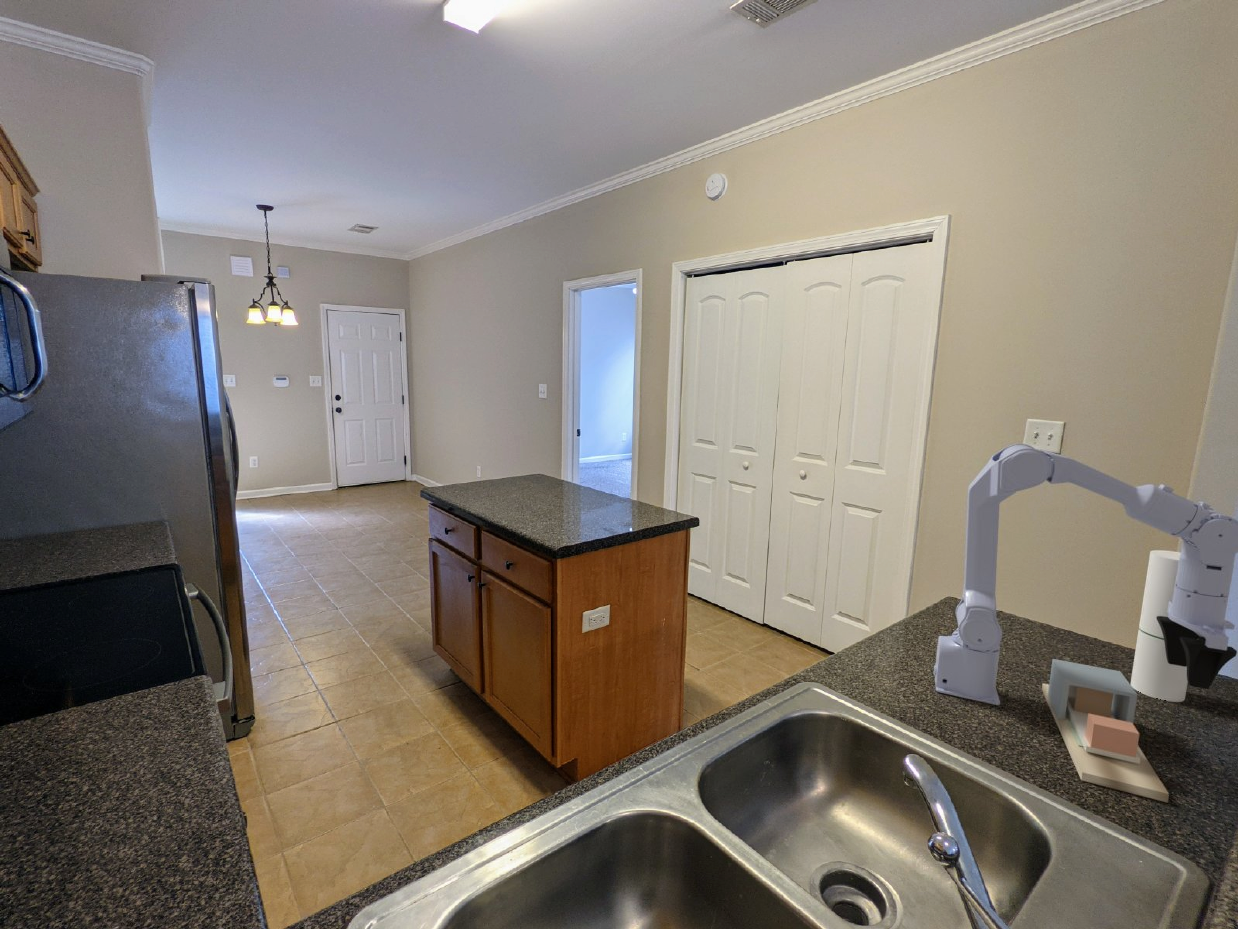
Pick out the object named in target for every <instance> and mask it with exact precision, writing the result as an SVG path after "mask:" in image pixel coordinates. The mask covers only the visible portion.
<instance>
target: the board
mask: <svg viewBox="0 0 1238 929" xmlns="http://www.w3.org/2000/svg"><path fill="white" fill-rule="evenodd" d="M1048 690H1049V684H1048V683H1042V685H1041V691H1042V693H1043V696H1044V698H1045V700H1046V703H1047V705H1048V707H1049V709H1050V712H1051V714H1052V716H1053V719H1054V721H1055V723H1056V726H1057V728H1058V729H1059V733H1060V735H1061V736H1062V739H1063V741H1064V744H1065V746H1066V749H1067V751H1068V752H1069V755H1070V758H1071V760H1072V762H1073V764H1074V766H1075V769H1076V772H1077V773H1078V775H1079V778H1080V780H1081V781H1083V782H1087V783H1091V784H1094V785H1099V786H1102V787H1106V788H1110V789H1114V790H1119V791H1122V792H1126V793H1130V794H1134V795H1137V796H1141V797H1144V798H1149V799H1152V800H1156V801H1161V802H1165V803H1169V798H1170V793H1169V792H1168V790H1167V788H1166V787H1165V786H1164V784H1163V782H1162V781H1161V780H1160V778H1159V776H1158V775H1157V772H1155V770H1154V768H1153V766H1152V765H1151V764H1150V762H1149V760H1148V758H1147V757H1146V756H1145V754H1144V752H1143V751H1142V749H1141V748H1140V746H1139V745H1138V747H1137V754H1138V756H1139V757H1140V764H1137V763H1133V762H1129V761H1125V760H1120V759H1116V758H1112V757H1108V756H1104V755H1100V754H1095V753H1091V752H1087V751H1085V749H1084V747H1083V745H1082V742H1081V740H1080V738H1079V736H1078V734H1077V732H1076V730H1075V728H1074V726H1073V724H1072V722H1071V720H1070V718H1069V716H1068V714H1067V711H1066V714H1065V720H1062V719H1058V717H1057V714H1056V712H1055V710H1054V708H1053V705H1052V703H1051V701H1050V699H1049V696H1048Z"/></svg>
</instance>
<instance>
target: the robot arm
mask: <svg viewBox="0 0 1238 929" xmlns="http://www.w3.org/2000/svg"><path fill="white" fill-rule="evenodd" d="M1044 482H1047V483H1049V484H1050V485H1051V484H1052V485H1056V484H1065V483H1068V484H1069V483H1070V484H1073V485H1076V486H1077V487H1081V488H1082V489H1085V490H1087V491H1090V492H1093V493H1095V494H1098V495H1100V496H1103V497H1105V498H1107V499H1110V500H1113V501H1114V502H1117V503H1120V504H1122V506H1123V508H1124V510H1125V511H1124V512H1125V513H1126V515H1127V517H1128V518H1131V519H1133V520H1136V521H1138V522H1140V523H1143V524H1145V525H1147V526H1150V527H1152V528H1154V529H1156V530H1158V531H1161V532H1163V533H1165V534H1168V535H1170V536H1172V537H1174V538H1180V539H1181V540H1182V543H1181V550H1180V552H1181V555H1180V557H1179V563H1178V570H1177V576H1176V582H1175V588H1174V594H1173V600H1172V602H1170V601H1169V604H1168V610H1167V613H1169V614H1168V617H1164V616H1157V621H1158V623H1159V625H1160V627H1161V630H1162V633H1163V637H1164V642H1165V649H1166V657H1167V661H1168V663H1169V664H1173V665H1178V666H1184V667H1186V666H1187V681H1188V683H1187V685H1189V686H1190V687H1193V688H1200V689H1205V690H1209V688H1210V687H1211V686H1212V684H1213V682H1214V681H1215V679H1216V678H1217V675H1218V674H1219V672H1220V671H1221V669H1222V668H1223V667H1224V666H1225V665H1226V664H1227V663H1228V662H1230V661H1231V660H1232V659H1234V658H1235V657H1237V654H1238V651H1237V649H1235V648H1234V647H1233V646H1228V644H1229V639H1230V638H1229V636H1227V634H1226V629H1227V630H1234V629H1235V624H1234V623H1233V622H1231V621H1229V620H1225V618H1226V613H1227V607H1228V601H1229V595H1230V592H1231V591H1230V590H1231V585H1232V579H1233V578H1232V577H1233V573H1234V567H1235V559H1236V555H1237V553H1238V520H1237V519H1236V518H1233V517H1231V516H1229V515H1227V514H1223V513H1221V512H1219V511H1216V510H1214V509H1213V508H1212V507H1211V505H1210V504H1208V503H1206V502H1203V501H1199V502H1198V503H1197V502H1195V501H1192V500H1190V499H1189V498H1187V497H1183V496H1181V495H1178V494H1177V493H1174V488H1172V487H1169V486H1167V485H1164V484H1163V483H1162V484H1159V486H1157V485H1155V484H1151V483H1150V484H1143V485H1138V486H1133V485H1131V484H1129V483H1126V482H1124V481H1122V480H1120V479H1118V478H1116V477H1113V476H1111V475H1108V474H1106V473H1104V472H1102V471H1100V470H1098V469H1096V468H1093V467H1091V466H1090V465H1087V464H1085V463H1082V462H1080V461H1077V460H1075V459H1073V458H1071V457H1068V456H1066V455H1061V454H1059V453H1054V452H1051V451H1049V450H1045V449H1036V448H1035V447H1033V446H1031V445H1029V444H1025V443H1014V444H1013V443H1012V444H1011V445H1008V446H1006V447H1004V448H1003V449H1001V450H1000V451H998V452H996V453H995V454H993V455H991V458H990V459H989V461H988V462H987V463H986V464H985V465H984V467H982V469H981V470H980V471H979V473H978V474H977V475H976V477H974V479H973V480H972V481H971V482H970V484H969V485H968V488H967V502H966V503H967V505H966V524H965V525H966V526H965V546H964V547H965V550H964V551H965V552H964V553H965V554H964V573H963V574H964V577H963V578H964V579H963V588H962V591H961V592H962V594H961V595H962V596H961V599H960V602H959V603H958V604H957V606H956V607H955V617H956V620H957V626H958V627H957V628H956V629H955V630H954V632H952V634H951V635H939V636H938V639H937V645H936V646H937V647H936V658H935V664H934V665H933V676H934V681H935V682H934V683H935V692H937V693H941V694H945V695H950V696H955V697H959V698H963V699H968V700H972V701H977V702H982V703H987V704H991V705H994V706H995V705H996V706H1000V705H1001V701H1000V698H999V694H998V691H997V687H996V684H997V677H998V676H997V675H998V668H999V659H1000V658H999V657H1000V651H1001V650H1000V649H1001V641H1002V639H1003V630H1002V628H1001V626H1000V623H999V622H998V620H997V619H998V618H997V600H996V585H997V584H996V583H997V567H998V566H997V563H998V546H999V544H998V543H999V522H1000V520H999V518H1000V504H1001V503H1003V501H1005V500H1007V499H1008V498H1009V497H1011V496H1013V495H1015V494H1016V493H1017V492H1021V491H1024V490H1025V491H1026V490H1029V489H1031V488H1035V487H1037V486H1040V485H1042V484H1043V483H1044Z"/></svg>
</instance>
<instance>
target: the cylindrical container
mask: <svg viewBox="0 0 1238 929" xmlns="http://www.w3.org/2000/svg"><path fill="white" fill-rule="evenodd" d="M1180 555H1181V551H1174V550H1173V551H1172V550H1164V549H1158V550H1157V549H1156V550H1150V551H1149V558H1148V565H1147V572H1146V579H1145V585H1144V592H1143V598H1142V604H1141V612H1140V618H1139V625H1138V632H1137V638H1136V643H1135V644H1136V645H1135V652H1134V659H1133V664H1132V672H1131V677H1130V678H1131V679H1130V685H1131V686H1132V688H1133V689H1134V690H1135V691H1136V692H1138V691H1139V693H1140V692H1141V694H1143V695H1145V696H1148V697H1150V698H1153V699H1156V698H1158V699H1157V700H1160V699H1161V700H1160V701H1164V700H1166V701H1165V702H1170V703H1171V702H1172V703H1181V702H1184V701H1185V699H1186V695H1187V687H1188V681H1187V666H1186V667H1184V666H1178V665H1173V664H1169V663H1168V661H1167V657H1166V649H1165V642H1164V637H1163V633H1162V630H1161V627H1160V625H1159V623H1158V621H1157V616H1164V617H1168V614H1169V613H1167V610H1168V604H1169V601H1170V602H1172V600H1173V594H1174V588H1175V582H1176V576H1177V570H1178V563H1179V557H1180Z"/></svg>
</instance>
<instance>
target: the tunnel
mask: <svg viewBox="0 0 1238 929" xmlns="http://www.w3.org/2000/svg"><path fill="white" fill-rule="evenodd" d="M1051 661H1052V662H1051V669H1050V677H1049V690H1048V696H1049V699H1050V701H1051V703H1052V705H1053V708H1054V710H1055V712H1056V714H1057V717H1058V719H1062V720H1065V714H1066V706H1067V699H1068V692H1069V685H1074V686H1079V687H1084V688H1089V689H1094V690H1099V691H1104V692H1109V693H1114V694H1113V701H1112V708H1111V712H1112V714H1113V716H1114V717H1115V719H1117V720H1122V721H1126V722H1131V723H1133V724H1134V721H1135V712H1136V705H1137V699H1138V693H1137V691H1136V690H1135V689H1134V688H1133V687H1132V686H1131V683H1130V682H1129V681H1128V679H1127V678H1126V677H1125V675H1123V673H1122V671H1120V670H1115V669H1109V668H1105V667H1099V666H1093V665H1090V664H1089V665H1087V664H1082V663H1077V662H1073V661H1072V662H1070V661H1066V660H1061V659H1056V658H1052V660H1051Z"/></svg>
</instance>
